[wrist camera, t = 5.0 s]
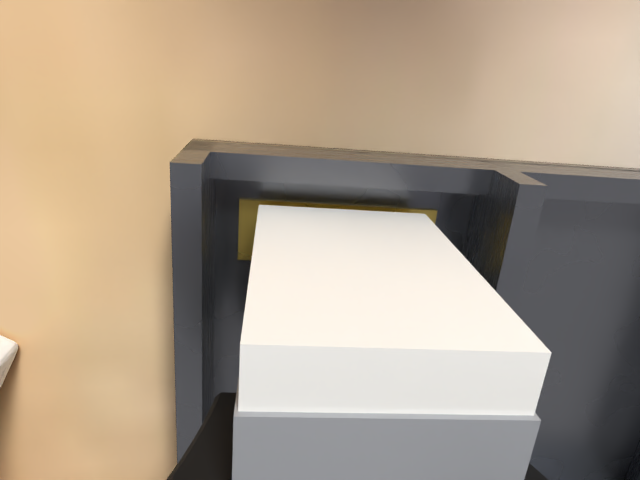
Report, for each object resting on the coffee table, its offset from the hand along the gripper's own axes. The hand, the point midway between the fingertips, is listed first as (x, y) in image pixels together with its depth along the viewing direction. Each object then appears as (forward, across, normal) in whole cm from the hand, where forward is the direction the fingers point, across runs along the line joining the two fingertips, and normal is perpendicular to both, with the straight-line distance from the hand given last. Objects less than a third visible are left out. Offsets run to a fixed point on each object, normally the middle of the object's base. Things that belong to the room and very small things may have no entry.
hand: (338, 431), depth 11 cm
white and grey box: (+2, 0, 0) cm, 3 cm away
